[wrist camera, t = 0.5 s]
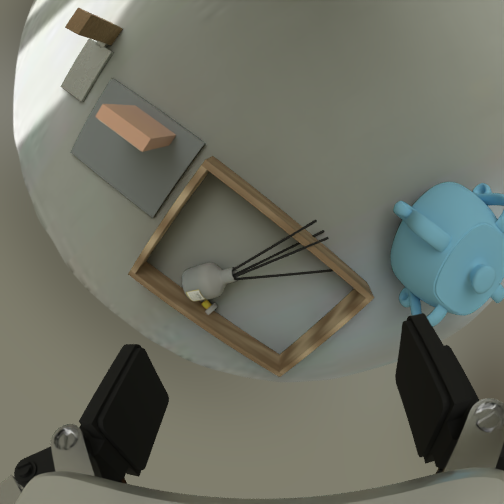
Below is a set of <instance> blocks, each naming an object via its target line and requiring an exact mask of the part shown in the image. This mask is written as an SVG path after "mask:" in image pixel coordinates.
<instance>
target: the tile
mask: <svg viewBox="0 0 504 504" xmlns="http://www.w3.org/2000/svg"><path fill="white" fill-rule="evenodd" d="M95 117H96V118H98V120H100V121H101V122H102V123H104V124H105V125H106V126H108V127H109V128H110V129H112V130H113V131H114V132H116V133H117V134H118V135H120V136H121V137H122V138H124V139H125V140H126V141H128V142H129V143H130V144H132V145H133V146H134V147H136V148H137V149H138V150H140V151H142V152H144V151H148V150H152V149H156V148H160V147H165V146H169V145H170V143H171V142H172V141H173V139H174V138H175V136H176V134H174V133H173V132H172V131H170V130H169V129H167V128H166V127H165V126H163V125H162V124H161V123H159V122H158V121H156V120H155V119H154V118H152V117H151V116H149V115H148V114H147V113H145V112H144V111H142V110H141V109H140V108H138V107H137V106H135V105H119V104H102V106H101V108H100V109H99V111H98V113H97V114H96V116H95Z"/></svg>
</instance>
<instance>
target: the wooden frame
mask: <svg viewBox="0 0 504 504" xmlns="http://www.w3.org/2000/svg"><path fill="white" fill-rule="evenodd" d="M209 172H211V173H212V174H213V175H215V176H216V177H217V178H218V179H220V180H221V181H222V182H224V183H225V184H226V185H227V186H229V187H230V188H231V189H233V190H234V191H235V192H237V193H238V194H239V195H240V196H242V197H243V198H244V199H245V200H247V201H248V202H249V203H251V204H252V205H253V206H254V207H256V208H257V209H258V210H259V211H261V212H262V213H263V214H264V215H266V216H267V217H268V218H269V219H271V220H272V221H273V222H274V223H276V224H277V225H278V226H279V227H281V228H282V229H283V230H284V231H286V232H287V233H288V234H289V235H291V234H292V233H294V232H296V231H297V230H299V229H301V228H302V226H301V225H299V224H298V223H297V222H296V221H294V220H293V219H292V218H291V217H290V216H288V215H287V214H286V213H285V212H284V211H282V210H281V209H280V208H279V207H277V206H276V205H275V204H274V203H272V202H271V201H270V200H269V199H267V198H266V197H265V196H264V195H262V194H261V193H260V192H259V191H257V190H256V189H255V188H254V187H252V186H251V185H250V184H249V183H247V182H246V181H245V180H243V179H242V178H241V177H240V176H238V175H237V174H236V173H235V172H233V171H232V170H231V169H229V168H228V167H227V166H225V165H224V164H223V163H222V162H220V161H219V160H218V159H216V158H215V157H214V156H212V157H210V158H208V159H206V160H205V161H204V162H203V164H202V165H201V166H200V168H199V169H198V170H197V172H196V173H195V175H194V176H193V177H192V179H191V180H190V181H189V183H188V184H187V186H186V187H185V188H184V190H183V191H182V193H181V194H180V195H179V197H178V198H177V200H176V201H175V203H174V204H173V206H172V207H171V208H170V210H169V211H168V213H167V214H166V216H165V217H164V219H163V220H162V222H161V223H160V225H159V226H158V228H157V229H156V231H155V232H154V234H153V235H152V237H151V238H150V240H149V241H148V243H147V245H146V246H145V248H144V249H143V251H142V252H141V254H140V256H139V257H138V259H137V260H136V262H135V264H134V265H133V267H132V268H131V270H130V272H129V273H128V275H130V276H131V277H132V278H134V279H135V280H136V281H138V282H139V283H140V284H141V285H143V286H144V287H145V288H147V289H148V290H149V291H151V292H152V293H153V294H155V295H156V296H158V297H159V298H160V299H162V300H163V301H164V302H166V303H167V304H169V305H170V306H171V307H173V308H174V309H176V310H177V311H178V312H180V313H181V314H183V315H184V316H185V317H187V318H188V319H190V320H191V321H193V322H194V323H196V324H197V325H198V326H200V327H201V328H203V329H204V330H206V331H207V332H209V333H210V334H212V335H213V336H215V337H216V338H218V339H219V340H221V341H222V342H224V343H226V344H227V345H229V346H230V347H232V348H233V349H235V350H236V351H238V352H240V353H241V354H243V355H244V356H246V357H247V358H249V359H251V360H252V361H254V362H256V363H257V364H259V365H260V366H262V367H264V368H265V369H267V370H269V371H270V372H272V373H274V374H275V375H277V376H279V377H280V376H282V375H283V374H284V373H286V372H287V371H288V370H290V369H291V368H292V367H293V366H295V365H296V364H297V363H299V362H300V361H301V360H302V359H304V358H305V357H306V356H307V355H309V354H310V353H311V352H312V351H314V350H315V349H316V348H317V347H319V346H320V345H321V344H322V343H323V342H325V341H326V340H327V339H328V338H329V337H331V336H332V335H333V334H334V333H335V332H336V331H338V330H339V329H340V328H341V327H342V326H343V325H345V324H346V323H347V322H348V321H349V320H350V319H351V318H353V317H354V316H355V315H356V314H357V313H358V312H359V311H360V310H361V309H363V308H364V307H365V306H366V305H367V304H368V303H369V302H370V301H371V300H372V299H373V298H374V296H373V294H372V292H371V290H370V288H369V286H368V284H367V282H366V281H365V280H363V279H362V278H361V277H360V276H359V275H358V274H357V273H355V272H354V271H353V270H352V269H351V268H350V267H349V266H348V265H346V264H345V263H344V262H343V261H342V260H341V259H339V258H338V257H337V256H336V255H335V254H334V253H332V252H331V251H330V250H329V249H328V248H327V247H325V246H324V245H323V244H322V243H321V242H320V243H318V244H315V245H313V246H310V247H308V248H306V249H308V250H309V251H310V252H311V253H313V254H314V255H315V256H316V257H317V258H319V259H320V260H321V261H322V262H323V263H325V264H326V265H327V266H328V267H329V268H331V269H332V270H333V271H334V272H335V273H337V274H338V275H339V276H340V277H341V278H343V279H344V280H345V281H346V282H347V283H348V284H350V285H351V286H352V287H353V288H354V289H353V290H352V291H351V292H350V293H349V294H348V295H347V296H346V297H345V298H344V299H343V300H342V301H340V302H339V303H338V304H337V305H336V306H335V307H334V308H333V309H332V310H331V311H330V312H328V313H327V314H326V315H325V316H324V317H323V318H322V319H321V320H319V321H318V322H317V323H316V324H315V325H314V326H313V327H312V328H310V329H309V330H308V331H307V332H306V333H305V334H303V335H302V336H301V337H300V338H299V339H298V340H296V341H295V342H294V343H293V344H292V345H291V346H289V347H288V348H287V349H286V350H285V351H283V352H282V353H281V354H278V353H276V352H275V351H273V350H272V349H270V348H269V347H267V346H266V345H264V344H263V343H261V342H259V341H258V340H256V339H255V338H253V337H252V336H250V335H249V334H247V333H246V332H244V331H243V330H241V329H240V328H238V327H237V326H235V325H234V324H232V323H231V322H230V321H228V320H227V319H225V318H224V317H222V316H221V315H219V314H218V313H217V312H215V311H213V312H211V313H210V314H209V315H207V314H206V313H205V311H206V309H205V308H204V307H203V306H202V304H201V303H202V302H201V301H191V300H190V299H189V298H188V297H187V296H186V294H185V292H184V290H183V288H181V287H180V286H179V285H177V284H176V283H175V282H173V281H172V280H171V279H169V278H168V277H167V276H165V275H164V274H163V273H161V272H160V271H159V270H157V269H156V268H155V267H153V266H152V265H151V264H149V263H148V262H147V259H148V258H149V256H150V255H151V253H152V252H153V250H154V249H155V247H156V246H157V244H158V243H159V241H160V240H161V238H162V237H163V235H164V234H165V232H166V231H167V229H168V228H169V227H170V225H171V224H172V222H173V221H174V219H175V218H176V217H177V215H178V214H179V212H180V211H181V209H182V208H183V207H184V205H185V204H186V202H187V201H188V200H189V198H190V197H191V196H192V194H193V193H194V191H195V190H196V189H197V187H198V186H199V185H200V183H201V182H202V181H203V179H204V178H205V177H206V175H207V174H208V173H209ZM292 237H293V238H294V239H295V240H297V241H298V242H299V243H300V244H302V245H303V246H304V247H305V246H307V245H309V244H312V243H314V242H316V241H318V240H317V239H316V238H315V237H313V236H312V235H311V234H310V233H309V232H308V231H307V230H305V229H304V230H302V231H300V232H299V233H297V234H295V235H294V236H292Z"/></svg>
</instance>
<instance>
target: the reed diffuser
mask: <svg viewBox="0 0 504 504" xmlns="http://www.w3.org/2000/svg"><path fill="white" fill-rule="evenodd" d="M315 222H317V220H314V221H312V222H311V223H309V224H307V225H306V226H304V227H302V228H301V229H299V230H297V231H296V232H294V233H292V234H291V235H289V236H287V237H286V238H284V239H282V240H281V241H279V242H277V243H276V244H274V245H272V246H271V247H269V248H267V249H265V250H264V251H262V252H260V253H259V254H257V255H255V256H254V257H252V258H250V259H249V260H247V261H245V262H244V263H242V264H240V265H239V266H237V267H235V268H234V267H232V268H228V269H224V270H222V269H221V268H220V267H219V266H218V265H216V264H214V263H204V264H201V265H198V266H195V267H192V268H189V269H187V270H185V271H184V273H183V276H182V286H183V290H184V292H185V294H186V296H187V297H188V298H189V299H190V300H191V301H201V300H204V301H203V302H202V303H201V304H202V306H203V307H204V308H205V309H206V311H205V313H206V314H207V315H209V314H210V313H211V312H213V311H214V310H215V309H216V308H217V306H218V305H217V304H216V303H215V302H214V303H213V304H211V303H210V302H209V301H208V300H207V299H212V298H216V297H219V296H220V295H221V294H222V293H223V291H224V289H225V286H226V284H229V283H232V282H236V281H238V280H244V279H256V278H267V277H278V276H289V275H300V274H311V273H321V272H331V271H333V270H332V269H329V270H319V271H309V272H299V273H288V274H277V275H266V276H255V277H243V278H238V276H240V275H242V274H245V273H247V272H250V271H252V270H255V269H257V268H259V267H262V266H264V265H267V264H269V263H272V262H274V261H277V260H279V259H281V258H284V257H286V256H289V255H291V254H294V253H296V252H298V251H301V250H303V249H306V248H308V247H310V246H313V245H315V244H318V243H320V242H322V241H325V240H327V239H328V237H326V238H324V239H321V240H319V241H316V242H314V243H312V244H309V245H307V246H305V247H302V248H300V249H297V250H295V251H293V252H290V253H288V254H285V255H283V256H280V257H278V258H276V259H273V260H271V261H268V262H266V263H264V264H261V265H259V266H256V265H258V264H260V263H262V262H264V261H266V260H268V259H270V258H272V257H274V256H277V255H279V254H281V253H283V252H285V251H287V250H289V249H291V248H293V247H295V246H297V245H299V244H300V243H299V242H298V243H296V244H294V245H292V246H290V247H288V248H286V249H284V250H282V251H280V252H278V253H276V254H274V255H272V256H270V257H268V258H266V259H264V260H262V261H260V262H258V263H256V264H253V265H251V266H249V267H247V268H245V269H243V270H241V271H239V272H237V270H236V269H238V268H239V267H241V266H243V265H245V264H246V263H248V262H250V261H251V260H253V259H255V258H256V257H258V256H260V255H261V254H263V253H265V252H267V251H268V250H270V249H272V248H273V247H275V246H277V245H278V244H280V243H282V242H283V241H285V240H287V239H288V238H290V237H292V236H294V235H295V234H297V233H299V232H300V231H302V230H304V229H305V228H307V227H309V226H310V225H312V224H314V223H315ZM323 232H324V230H322V231H320V232H318V233H316V234H314V235H312V236H313V237H315V236H317V235H319V234H321V233H323ZM254 266H256V267H254ZM252 267H254V268H252ZM250 268H251V269H250ZM248 269H249V270H248Z"/></svg>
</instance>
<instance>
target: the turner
mask: <svg viewBox="0 0 504 504" xmlns="http://www.w3.org/2000/svg"><path fill="white" fill-rule="evenodd" d="M65 28H67V29H69V30H71V31H73V32H74V33H76V34H78V35H81V36H84V37H87V38H90V39H89V40H88V41H87V43H86V44H85V46H84V47H83V49H82V51H81V52H80V54H79V55H78V57H77V59H76V60H75V62H74V64H73V65H72V67H71V69H70V71H69V72H68V74H67V76H66V78H65V80H64V81H63V83H62V85H61V87H62V88H63V89H65V90H66V91H68V92H69V93H70V94H72V95H73V96H74V97H76V98H77V99H79V100H80V101H83V102H84V100H85V98H86V96H87V95H88V93H89V91H90V89H91V88H92V86H93V84H94V83H95V81H96V79H97V78H98V76H99V74H100V73H101V71H102V70H103V68H104V67H105V65H106V63H107V62H108V60H109V59H110V57H111V56H112V54H113V53H114V52H112V51H111V50H109V49H107V48H106V47H107V45H112V44H113V42H114V41H115V39H116V38H117V37H118V35H119V34H120V32H121V31H122V30H123V29H122V28H120V27H119V26H117V25H115V24H113V23H111V22H109V21H107V20H105V19H103V18H100V17H98V16H96V15H94V14H92V13H89V12H87V11H85V10H82V9H80V8H78V9H77V10H76V12H75V13H74V15H73V16H72V17H71V19H70V20H69V22H68V24H67V25H66V27H65ZM92 39H93V40H92ZM94 40H96V41H97V42H95V41H94Z"/></svg>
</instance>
